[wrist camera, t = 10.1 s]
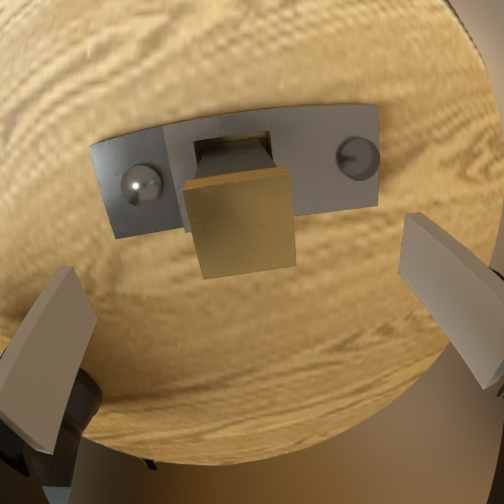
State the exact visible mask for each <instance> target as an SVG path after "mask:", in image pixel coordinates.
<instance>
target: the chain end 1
mask: <svg viewBox="0 0 504 504" xmlns="http://www.w3.org/2000/svg"><path fill="white" fill-rule="evenodd" d="M274 108H278V107H274ZM264 109H272V108H264ZM255 110H262V109H255ZM247 111H254V110H247ZM239 112H245V111H239ZM232 113H238V112H232ZM225 114H231V113H225ZM219 115H224V114H219ZM213 116H218V115H213ZM207 117H212V116H207ZM201 118H206V117H201ZM196 119H200V118H196ZM190 120H195V119H190ZM185 121H189V120H185ZM180 122H184V121H180ZM175 123H179V122H175ZM171 124H174V123H171ZM166 125H170V124H166ZM163 126H165V125H162V126H157V127H153V128H149V129H145V130H141V131H137V132H133V133H129V134H126V135H122V136H118V137H115V138H111V139H108V140H105V141H101V142H98V143H95V144H93V145H90V146H89V148H90V153H91V157H92V161H93V165H94V169H95V172H96V176H97V180H98V184H99V187H100V191H101V194H102V197H103V201H104V204H105V207H106V211H107V214H108V217H109V220H110V223H111V226H112V229H113V232H114V235H115V238H116V239H120V238H125V237H130V236H136V235H142V234H147V233H153V232H159V231H164V230H170V229H176V228H182V227H184V225H183V221H182V217H181V213H180V208H179V204H178V200H177V195H176V191H175V186H174V182H173V177H172V172H171V168H170V163H169V158H168V153H167V148H166V143H165V138H164V133H163ZM266 134H267V142H268V151H269V156H270V157H271V154H270V145H269V136H268V130H267V131H266ZM195 144H196V150H197V156H198V161H199V163H200V157H199V151H198V145H197V141H195Z"/></svg>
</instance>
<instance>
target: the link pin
mask: <svg viewBox="0 0 504 504" xmlns="http://www.w3.org/2000/svg"><path fill="white" fill-rule="evenodd" d="M182 192H183V196H184V201H185V205H186V210H187V214H188V219H189V223H190V227H191V231H192V236H193V240H194V244H195V248H196V252H197V256H198V260H199V264H200V268H201V272H202V276H203V280H204V279H211V278H218V277H225V276H232V275H239V274H246V273H253V272H259V271H266V270H273V269H279V268H286V267H292V266H296V250H295V233H294V218H293V204H292V191H291V179H290V174H289V172H288V171H287V170H286V169H285V167H284V166H282V167H277V166H276V164H275V163H274V162H273V160H272V159H271V157H270V156H269V154H268V153H267V152H266V150H265V149H264V147H263V146H262V145H261V143H260V142H259V140H258V139H257V138H250V139H242V140H235V141H228V142H222V143H216V144H210V145H206V147H205V150H204V152H203V155H202V157H201V160H200V163H199V165H198V168H197V170H196V173H195V176H194V178H193V180H188V181H186V183H185V185H184V188H183V190H182Z"/></svg>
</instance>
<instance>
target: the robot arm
mask: <svg viewBox="0 0 504 504" xmlns="http://www.w3.org/2000/svg"><path fill="white" fill-rule="evenodd" d="M398 274H399V275H400V276H401V277H402V279H403V280H404V281H405V282H406V284H407V285H408V286H409V287H410V288H411V290H412V291H413V292H414V293H415V295H416V296H417V297H418V298H419V300H420V301H421V302H422V303H423V305H424V306H425V307H426V309H427V310H428V311H429V313H430V314H431V315H432V316H433V318H434V319H435V320H436V322H437V323H438V324H439V326H440V327H441V328H442V330H443V331H444V333H445V334H446V335H447V337H448V338H449V339H450V341H451V342H452V344H453V345H454V346H455V348H456V349H457V351H458V352H459V354H460V355H461V356H462V358H463V359H464V361H465V362H466V364H467V365H468V367H469V368H470V370H471V371H472V373H473V374H474V376H475V377H476V379H477V381H478V382H479V384H480V385H481V387H482V388H483V390H484V389H486V388H487V387H489V386H491V385H492V384H494V383H496V382H497V381H499V379H500V378H501V377H502V375H503V374H504V277H503V276H502V275H501V274H500V273H498V272H496V271H495V270H493V269H491V268H490V267H488V266H486V265H485V264H484V263H483V262H482V261H481V260H480V259H479V258H477V257H476V256H475V255H474V254H473V253H472V252H470V251H469V250H468V249H467V248H466V247H464V246H463V245H462V244H461V243H460V242H458V241H457V240H456V239H455V238H453V237H452V236H451V235H450V234H448V233H447V232H446V231H445V230H443V229H442V228H441V227H440V226H438V225H437V224H436V223H434V222H433V221H432V220H430V219H429V218H428V217H426V216H425V215H424V214H422V213H421V212H417V213H409V214H405V222H404V231H403V239H402V247H401V254H400V261H399V268H398ZM97 321H98V318H97V316H96V314H95V312H94V310H93V308H92V306H91V304H90V302H89V300H88V298H87V296H86V294H85V292H84V290H83V288H82V286H81V284H80V281H79V279H78V277H77V275H76V273H75V270H74V268H73V266H70V267H65V268H59V269H58V270H57V271H56V273H55V274H54V275H53V277H52V278H51V280H50V281H49V282H48V284H47V285H46V287H45V288H44V289H43V291H42V292H41V294H40V295H39V297H38V298H37V300H36V301H35V303H34V304H33V306H32V307H31V309H30V310H29V312H28V313H27V315H26V317H25V318H24V320H23V321H22V323H21V325H20V326H19V328H18V330H17V331H16V333H15V335H14V336H13V338H12V340H11V341H10V343H9V345H8V347H7V348H6V349H5V350H4V352H3V353H2V355H1V357H0V504H67V502H68V498H69V494H70V491H71V489H72V487H71V484H72V478H73V473H74V467H75V462H76V457H77V453H78V448H79V443H80V439H81V435H82V433H83V431H84V430H85V428H86V427H87V425H88V424H89V422H90V421H91V419H92V417H93V416H94V415H95V414H96V413H97V412H98V410H99V407H100V404H101V400H102V394H101V391H100V389H99V387H98V386H97V384H96V383H95V382H94V381H93V380H92V379H91V378H90V377H89V376H88V375H87V374H86V373H85V372H83V371H82V370H81V369H79V367H80V364H81V361H82V359H83V356H84V353H85V351H86V348H87V346H88V343H89V340H90V338H91V335H92V333H93V331H94V328H95V326H96V323H97ZM503 391H504V384H503V386H502V387H501V388H500V390H499V391H498V394H497V397H500V395H501V394H502V393H503ZM503 398H504V396H503ZM487 504H504V425H503V432H502V439H501V445H500V451H499V456H498V461H497V466H496V471H495V475H494V479H493V483H492V487H491V490H490V494H489V497H488V501H487Z"/></svg>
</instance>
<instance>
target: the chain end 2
mask: <svg viewBox="0 0 504 504" xmlns="http://www.w3.org/2000/svg"><path fill="white" fill-rule="evenodd" d="M267 130H268V136H269V145H270V154H271V159H272V160H273V162H274V163H275V164H276V166H277V167H282V166H284V167H285V169H286V170H287V171H288V172H289V174H290V179H291V191H292V204H293V217H294V216H301V215H309V214H316V213H324V212H332V211H340V210H348V209H356V208H365V207H373V206H378V187H379V164H380V153H379V126H378V105H372V104H317V105H299V106H286V107H283V108H272V109H262V110H254V111H245V112H238V113H231V114H224V115H218V116H212V117H206V118H200V119H195V120H189V121H184V122H179V123H174V124H170V125H165V126H163V133H164V138H165V143H166V148H167V153H168V158H169V163H170V168H171V172H172V177H173V182H174V186H175V191H176V195H177V200H178V204H179V208H180V213H181V217H182V221H183V225H184V229H185V233H187V232H192V231H191V227H190V223H189V219H188V214H187V210H186V205H185V201H184V196H183V192H182V190H183V188H184V185H185V183H186V181H188V180H193V178H194V176H195V173H196V170H197V168H198V165H199V161H198V156H197V150H196V144H195V141H198V140H204V139H210V138H216V137H222V136H229V135H236V134H243V133H250V132H258V131H267Z"/></svg>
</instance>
